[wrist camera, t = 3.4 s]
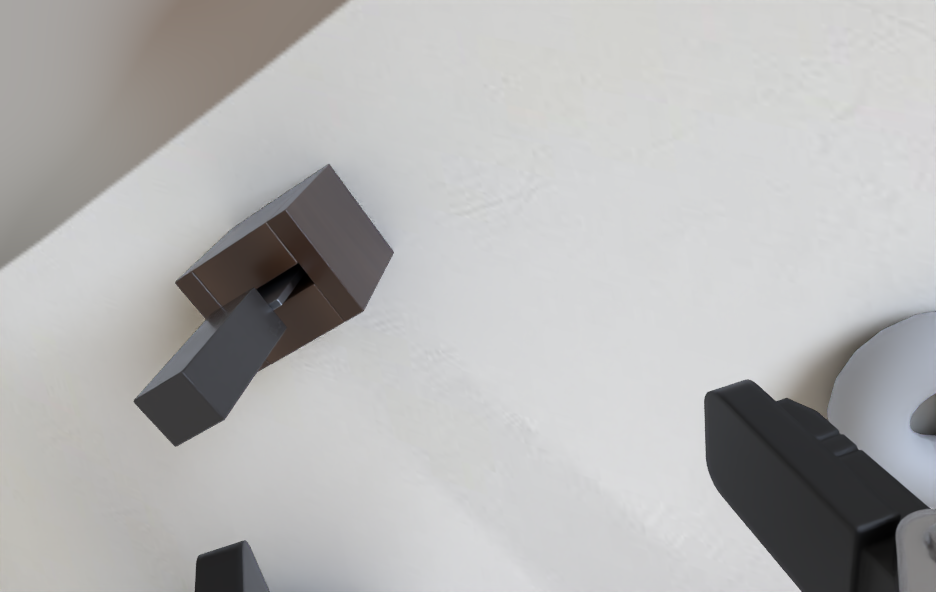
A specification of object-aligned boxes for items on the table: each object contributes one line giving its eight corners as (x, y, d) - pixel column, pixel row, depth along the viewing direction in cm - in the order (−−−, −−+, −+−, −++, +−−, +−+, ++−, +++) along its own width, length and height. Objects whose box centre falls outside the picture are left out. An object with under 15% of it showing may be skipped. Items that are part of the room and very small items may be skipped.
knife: (324, 207, 36) (191, 365, 23) (350, 242, 36) (234, 414, 24) (275, 238, 37) (123, 406, 24) (301, 272, 37) (166, 453, 25)
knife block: (329, 163, 35) (285, 209, 29) (394, 252, 36) (363, 311, 31) (231, 228, 37) (173, 282, 31) (297, 310, 38) (252, 375, 33)
